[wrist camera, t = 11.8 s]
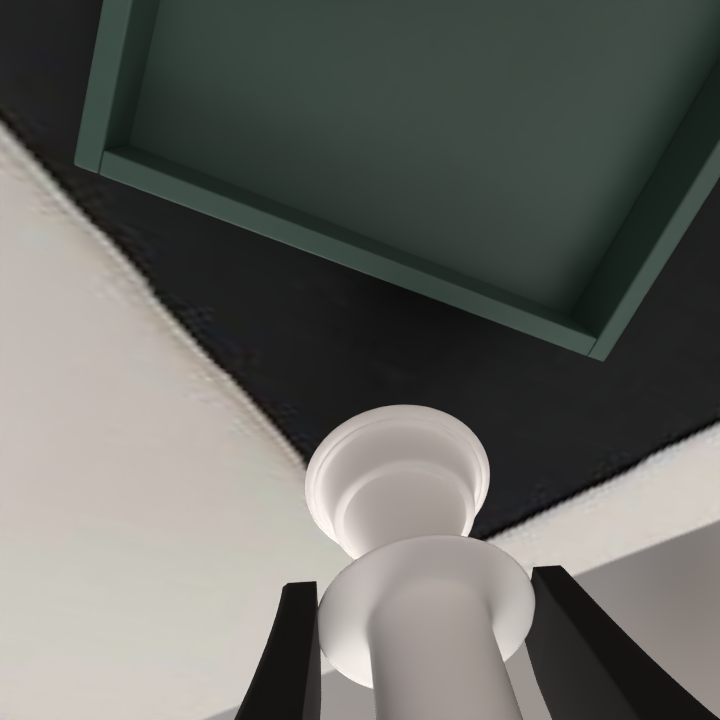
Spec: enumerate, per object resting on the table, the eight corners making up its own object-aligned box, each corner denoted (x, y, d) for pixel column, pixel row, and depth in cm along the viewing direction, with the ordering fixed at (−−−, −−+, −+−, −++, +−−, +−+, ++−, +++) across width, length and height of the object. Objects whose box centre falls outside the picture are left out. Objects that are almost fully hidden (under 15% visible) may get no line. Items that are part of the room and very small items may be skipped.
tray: (108, 155, 15) (71, 164, 13) (257, -570, 10) (239, -760, 8) (569, 331, 19) (604, 362, 16) (853, -154, 14) (960, -206, 11)
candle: (271, 511, 16) (179, 1352, 5) (369, 369, 14) (536, 1184, 4) (419, 574, 18) (586, 1332, 7) (524, 453, 16) (975, 1204, 5)
